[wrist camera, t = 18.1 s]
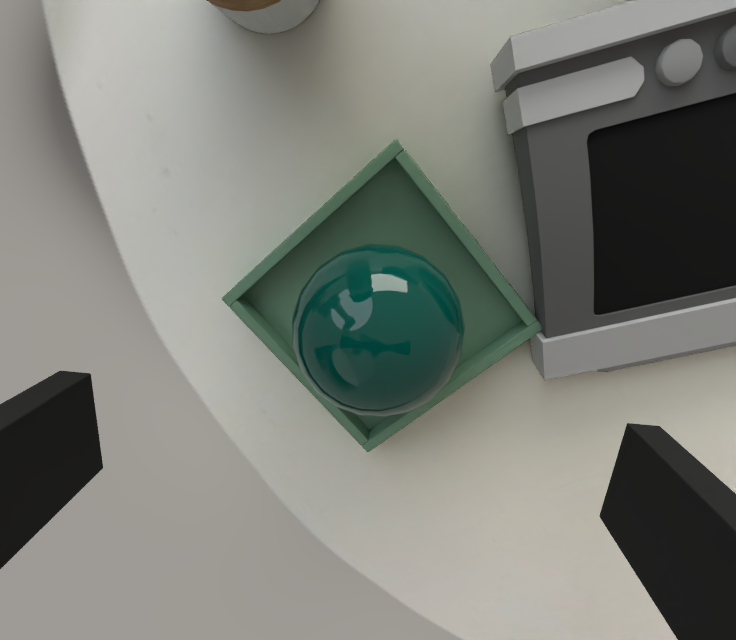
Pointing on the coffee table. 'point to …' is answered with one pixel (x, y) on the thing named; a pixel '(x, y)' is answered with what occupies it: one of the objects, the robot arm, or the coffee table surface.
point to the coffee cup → (266, 13)
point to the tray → (393, 227)
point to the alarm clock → (627, 181)
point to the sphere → (378, 330)
